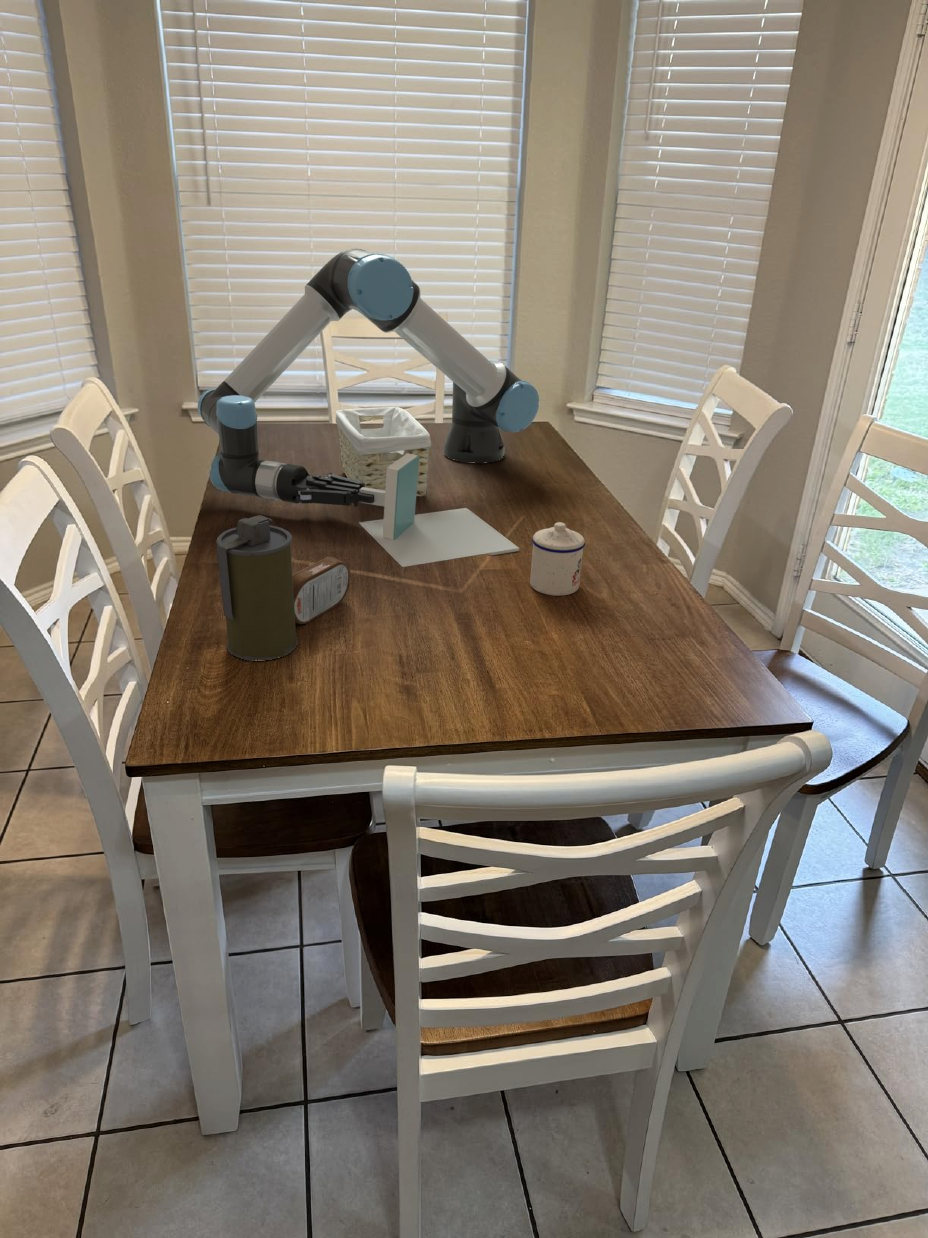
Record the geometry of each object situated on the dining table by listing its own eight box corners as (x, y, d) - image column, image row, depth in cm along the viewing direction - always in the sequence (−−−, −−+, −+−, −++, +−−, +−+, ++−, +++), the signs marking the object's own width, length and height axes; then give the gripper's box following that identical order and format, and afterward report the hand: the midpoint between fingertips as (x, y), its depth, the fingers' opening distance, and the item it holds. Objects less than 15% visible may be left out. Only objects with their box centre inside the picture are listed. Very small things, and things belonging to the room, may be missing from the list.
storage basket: (432, 499, 191) (434, 433, 185) (359, 506, 186) (358, 438, 179) (401, 466, 211) (402, 404, 204) (335, 471, 206) (333, 408, 199)
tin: (339, 594, 149) (337, 548, 145) (354, 599, 147) (353, 552, 144) (279, 629, 137) (275, 580, 133) (294, 634, 136) (291, 585, 132)
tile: (382, 537, 169) (386, 467, 163) (402, 519, 178) (407, 453, 171) (394, 539, 169) (399, 470, 162) (414, 522, 177) (419, 455, 171)
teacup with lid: (583, 598, 151) (590, 534, 145) (530, 596, 151) (535, 533, 145) (575, 569, 161) (581, 509, 156) (526, 567, 161) (530, 507, 156)
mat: (466, 510, 186) (466, 507, 186) (518, 550, 168) (519, 548, 168) (358, 525, 176) (358, 522, 176) (402, 569, 158) (402, 566, 158)
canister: (267, 621, 139) (258, 502, 130) (312, 644, 133) (306, 520, 124) (210, 646, 131) (196, 521, 122) (255, 671, 126) (244, 541, 116)
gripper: (300, 490, 184) (404, 507, 178) (268, 510, 173) (378, 529, 167) (298, 455, 181) (405, 471, 174) (265, 473, 170) (377, 491, 163)
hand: (391, 499), depth 170 cm, fingers closed
